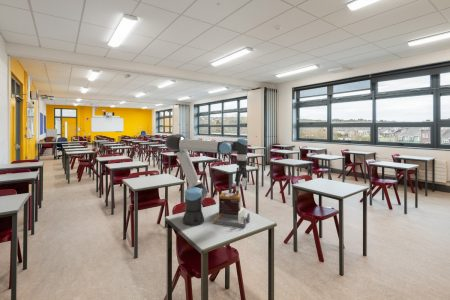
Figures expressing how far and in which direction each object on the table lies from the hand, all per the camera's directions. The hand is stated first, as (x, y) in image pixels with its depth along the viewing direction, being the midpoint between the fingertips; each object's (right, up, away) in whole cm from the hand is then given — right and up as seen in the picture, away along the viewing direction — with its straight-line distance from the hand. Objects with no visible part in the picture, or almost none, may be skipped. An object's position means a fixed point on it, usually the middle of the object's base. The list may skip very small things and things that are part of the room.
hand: (240, 188), depth 179 cm
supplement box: (-8, -22, +9) cm, 25 cm away
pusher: (+1, -23, -9) cm, 24 cm away
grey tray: (-7, -23, -6) cm, 25 cm away
